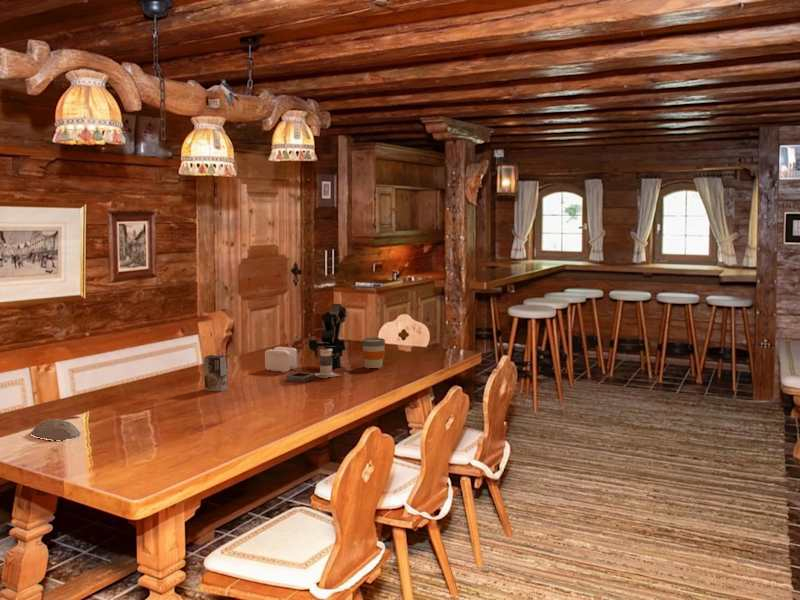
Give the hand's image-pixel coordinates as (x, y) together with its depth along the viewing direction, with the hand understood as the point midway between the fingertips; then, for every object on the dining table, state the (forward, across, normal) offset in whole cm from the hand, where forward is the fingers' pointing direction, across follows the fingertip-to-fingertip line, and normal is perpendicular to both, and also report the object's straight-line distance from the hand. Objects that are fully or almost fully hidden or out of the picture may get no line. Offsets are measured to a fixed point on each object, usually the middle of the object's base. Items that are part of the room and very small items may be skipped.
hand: (325, 358), depth 397 cm
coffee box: (+31, -46, -18) cm, 58 cm away
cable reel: (+5, 0, +7) cm, 9 cm away
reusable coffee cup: (-11, +22, +25) cm, 35 cm away
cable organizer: (-3, -26, +16) cm, 31 cm away
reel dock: (+13, -11, 0) cm, 17 cm away
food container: (+87, -82, -73) cm, 140 cm away
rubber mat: (+6, 0, +7) cm, 9 cm away
